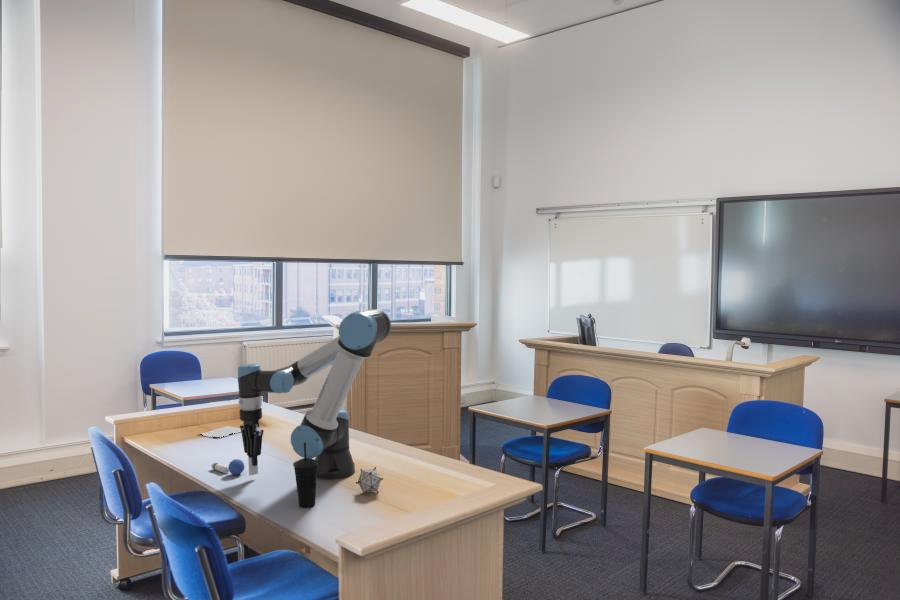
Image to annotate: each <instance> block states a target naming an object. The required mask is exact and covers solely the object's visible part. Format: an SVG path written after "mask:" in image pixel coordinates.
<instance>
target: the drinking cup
mask: <svg viewBox="0 0 900 600" xmlns="http://www.w3.org/2000/svg"><path fill="white" fill-rule="evenodd" d="M317 464H318V461H317V460H315V458H307V456H306V442H305V443H304V458H303V457H302V458H300V459H298V460H296V461H295V462H293V464H292V465H293V468H294V475H295V482H296V489H297V491H296V492H297V497H298V499H297V500H298V504H299V508H301V509H311V508H312V507H313V508H314V506H315V505H316V491H317Z"/></svg>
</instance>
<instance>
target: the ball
mask: <svg viewBox="0 0 900 600" xmlns="http://www.w3.org/2000/svg"><path fill="white" fill-rule="evenodd" d="M227 467H228V468H229V472H230V474H232V475H233V476H235V475H236V476H237V475H241V474H242V473H243V472H244V470H245V463H244V461H243V460H241V459H237V458H235V459H232V460H231V461H230V462H229V464H228V466H227Z"/></svg>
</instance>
